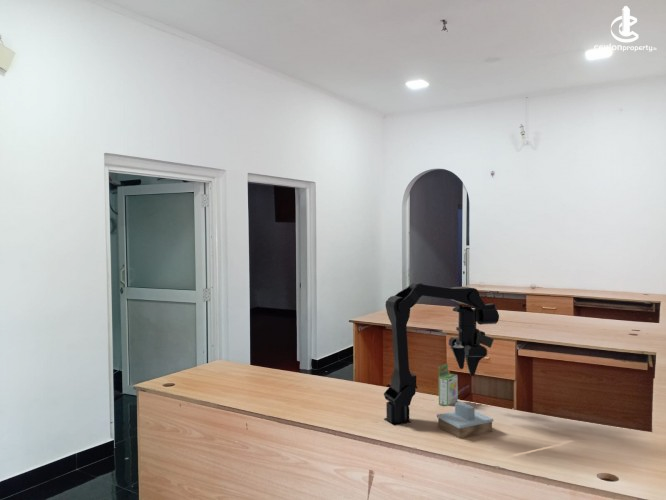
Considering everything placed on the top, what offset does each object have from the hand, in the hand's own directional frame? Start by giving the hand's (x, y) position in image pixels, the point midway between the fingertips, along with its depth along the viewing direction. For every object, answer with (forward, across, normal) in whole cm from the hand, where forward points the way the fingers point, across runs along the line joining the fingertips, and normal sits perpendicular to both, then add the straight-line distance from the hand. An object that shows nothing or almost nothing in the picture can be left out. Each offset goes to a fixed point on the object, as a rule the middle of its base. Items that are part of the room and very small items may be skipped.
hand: (466, 372), depth 171 cm
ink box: (+14, +11, +2) cm, 18 cm away
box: (+14, -15, +6) cm, 21 cm away
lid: (+10, -15, +6) cm, 19 cm away
